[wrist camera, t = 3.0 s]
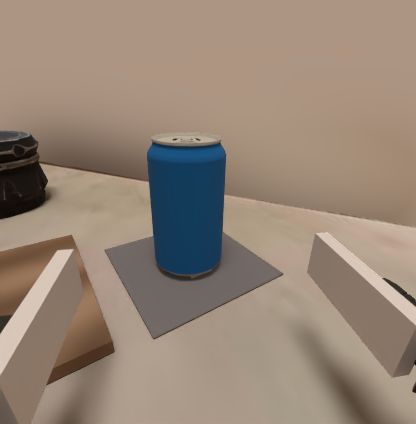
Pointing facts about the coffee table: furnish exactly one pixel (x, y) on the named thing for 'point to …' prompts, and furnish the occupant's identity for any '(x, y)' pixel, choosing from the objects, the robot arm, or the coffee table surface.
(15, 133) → the container
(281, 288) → the coffee table surface
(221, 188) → the beverage can
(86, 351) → the walnut board
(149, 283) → the gray tile
